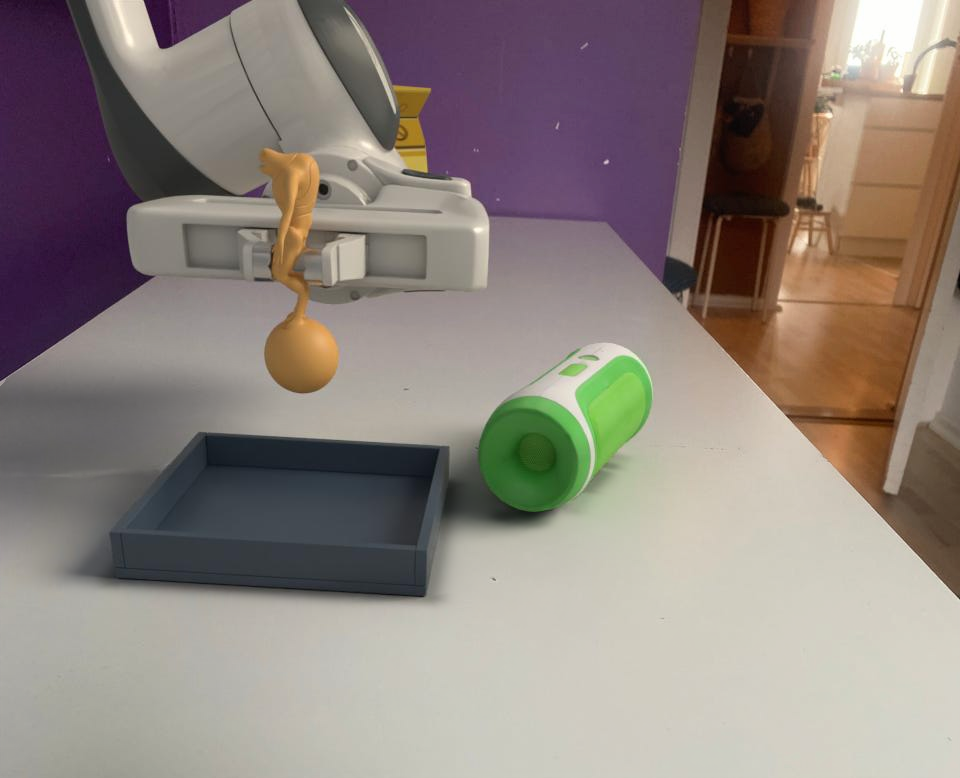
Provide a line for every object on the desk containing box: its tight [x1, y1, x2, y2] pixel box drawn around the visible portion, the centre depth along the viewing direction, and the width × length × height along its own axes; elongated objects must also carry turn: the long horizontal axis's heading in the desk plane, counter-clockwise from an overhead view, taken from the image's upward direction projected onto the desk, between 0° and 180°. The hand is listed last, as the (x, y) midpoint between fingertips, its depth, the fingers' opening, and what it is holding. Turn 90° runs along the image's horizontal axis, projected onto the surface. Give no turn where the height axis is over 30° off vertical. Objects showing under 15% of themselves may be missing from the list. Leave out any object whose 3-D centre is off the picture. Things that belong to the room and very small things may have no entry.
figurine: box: [258, 148, 340, 394], centre depth 54 cm, size 8×6×12 cm
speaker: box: [477, 342, 654, 513], centre depth 68 cm, size 18×7×8 cm, turn 157°
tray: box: [108, 431, 451, 597], centre depth 60 cm, size 16×16×3 cm
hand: (287, 267), depth 53 cm, fingers closed on figurine, 2 cm apart
